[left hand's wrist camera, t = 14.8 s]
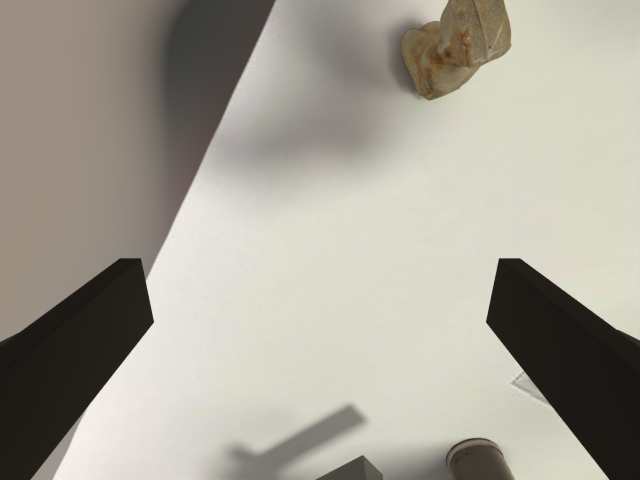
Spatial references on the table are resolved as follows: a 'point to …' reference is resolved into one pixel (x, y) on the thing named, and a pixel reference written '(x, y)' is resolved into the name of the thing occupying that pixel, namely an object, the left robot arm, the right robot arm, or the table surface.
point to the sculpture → (456, 45)
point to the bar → (354, 471)
